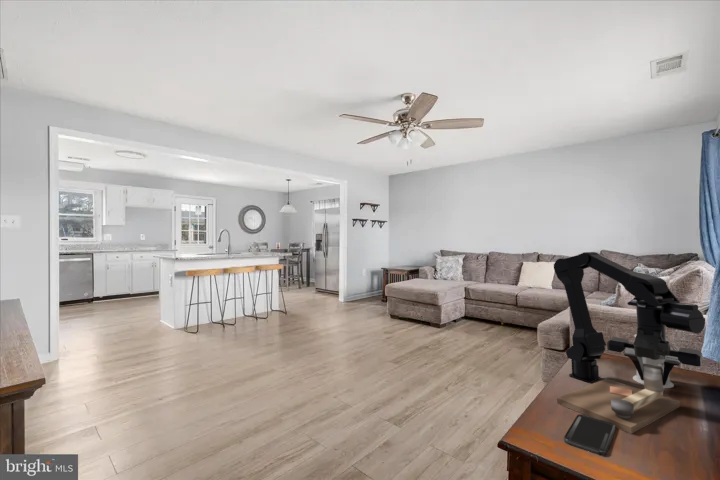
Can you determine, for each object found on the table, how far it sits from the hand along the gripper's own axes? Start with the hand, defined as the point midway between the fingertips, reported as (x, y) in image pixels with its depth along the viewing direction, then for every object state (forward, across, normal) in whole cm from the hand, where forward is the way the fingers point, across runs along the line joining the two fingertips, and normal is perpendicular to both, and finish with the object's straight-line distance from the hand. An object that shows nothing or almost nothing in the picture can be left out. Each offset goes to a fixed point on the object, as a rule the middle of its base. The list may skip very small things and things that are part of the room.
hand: (653, 382), depth 90 cm
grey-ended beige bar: (+4, -2, -8) cm, 9 cm away
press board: (+6, -7, -6) cm, 11 cm away
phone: (+7, -7, -27) cm, 29 cm away
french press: (+7, -2, +20) cm, 21 cm away
